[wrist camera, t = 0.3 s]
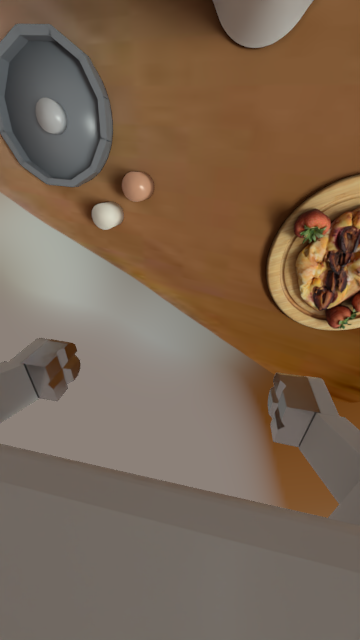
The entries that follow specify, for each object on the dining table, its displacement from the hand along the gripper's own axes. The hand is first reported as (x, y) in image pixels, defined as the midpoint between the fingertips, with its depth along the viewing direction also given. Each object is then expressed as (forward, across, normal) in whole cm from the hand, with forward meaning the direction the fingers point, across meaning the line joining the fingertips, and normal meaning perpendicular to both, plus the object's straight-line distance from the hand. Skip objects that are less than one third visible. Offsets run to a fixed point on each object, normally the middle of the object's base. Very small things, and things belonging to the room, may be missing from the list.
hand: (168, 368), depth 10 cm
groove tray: (+47, +33, -16) cm, 60 cm away
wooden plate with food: (+48, -27, +8) cm, 55 cm away
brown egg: (+47, +17, -5) cm, 50 cm away
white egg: (+47, +24, +1) cm, 53 cm away
